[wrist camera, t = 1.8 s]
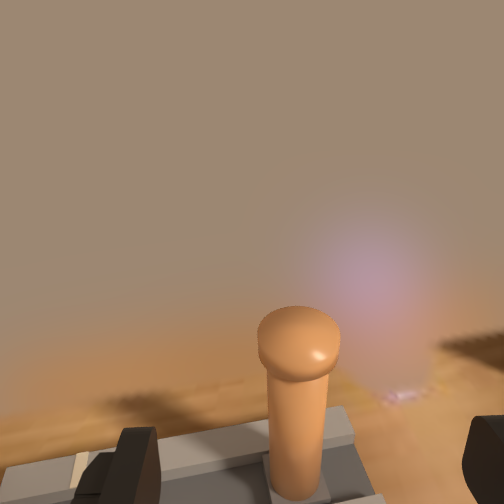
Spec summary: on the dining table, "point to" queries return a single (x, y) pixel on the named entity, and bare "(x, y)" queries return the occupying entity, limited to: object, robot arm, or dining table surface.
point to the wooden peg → (297, 400)
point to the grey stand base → (206, 468)
